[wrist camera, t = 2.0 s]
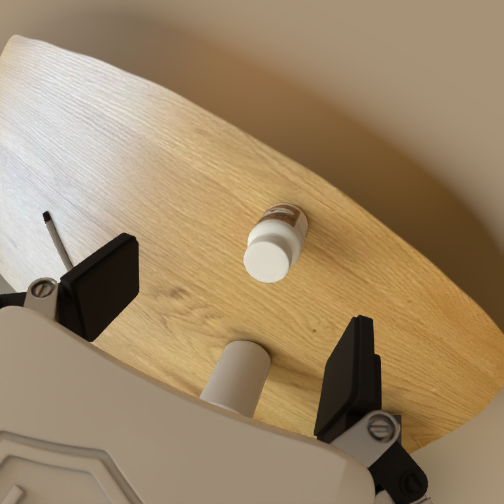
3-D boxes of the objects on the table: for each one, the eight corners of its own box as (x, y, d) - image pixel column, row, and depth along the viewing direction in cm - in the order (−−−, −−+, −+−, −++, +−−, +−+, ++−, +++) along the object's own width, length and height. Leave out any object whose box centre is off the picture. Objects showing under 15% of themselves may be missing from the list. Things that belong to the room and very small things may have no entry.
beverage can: (219, 354, 39) (183, 422, 29) (237, 328, 36) (199, 404, 26) (259, 375, 39) (231, 446, 29) (281, 352, 36) (255, 432, 26)
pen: (49, 209, 38) (43, 212, 37) (91, 299, 44) (87, 303, 43) (45, 211, 38) (40, 214, 37) (87, 299, 44) (83, 303, 43)
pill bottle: (298, 195, 26) (282, 227, 20) (314, 238, 28) (304, 281, 21) (255, 210, 28) (226, 244, 22) (273, 249, 30) (251, 293, 23)
